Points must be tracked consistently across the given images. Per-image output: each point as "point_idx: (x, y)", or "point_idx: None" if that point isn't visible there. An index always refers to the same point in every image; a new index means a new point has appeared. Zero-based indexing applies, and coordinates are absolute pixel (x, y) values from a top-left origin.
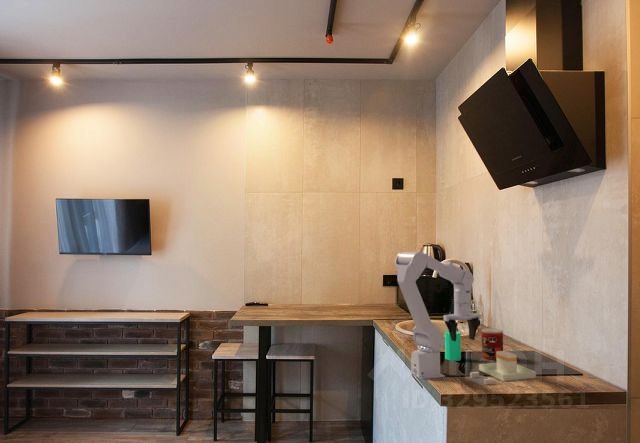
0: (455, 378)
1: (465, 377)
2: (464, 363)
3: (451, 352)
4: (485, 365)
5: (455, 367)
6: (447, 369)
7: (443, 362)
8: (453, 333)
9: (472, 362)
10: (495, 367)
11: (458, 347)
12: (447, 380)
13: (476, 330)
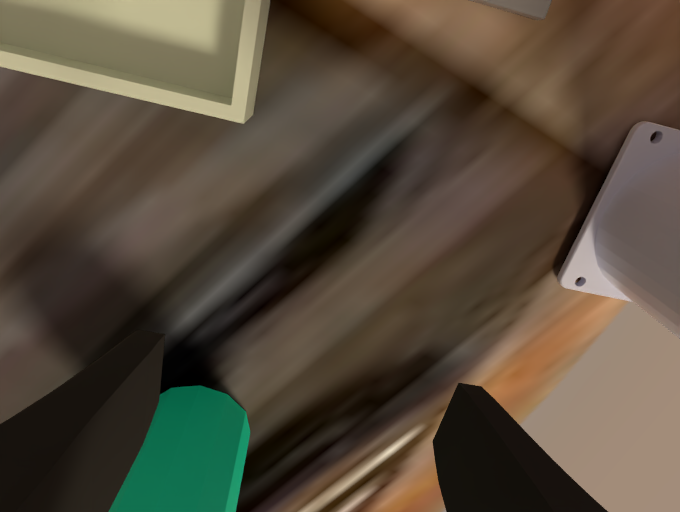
0: (579, 72)
1: (547, 1)
2: (200, 322)
3: (225, 450)
4: (180, 92)
5: (338, 282)
6: (429, 273)
7: (320, 395)
8: (568, 484)
9: (122, 315)
10: (72, 60)
11: (157, 466)
12: (676, 66)
13: (5, 425)
